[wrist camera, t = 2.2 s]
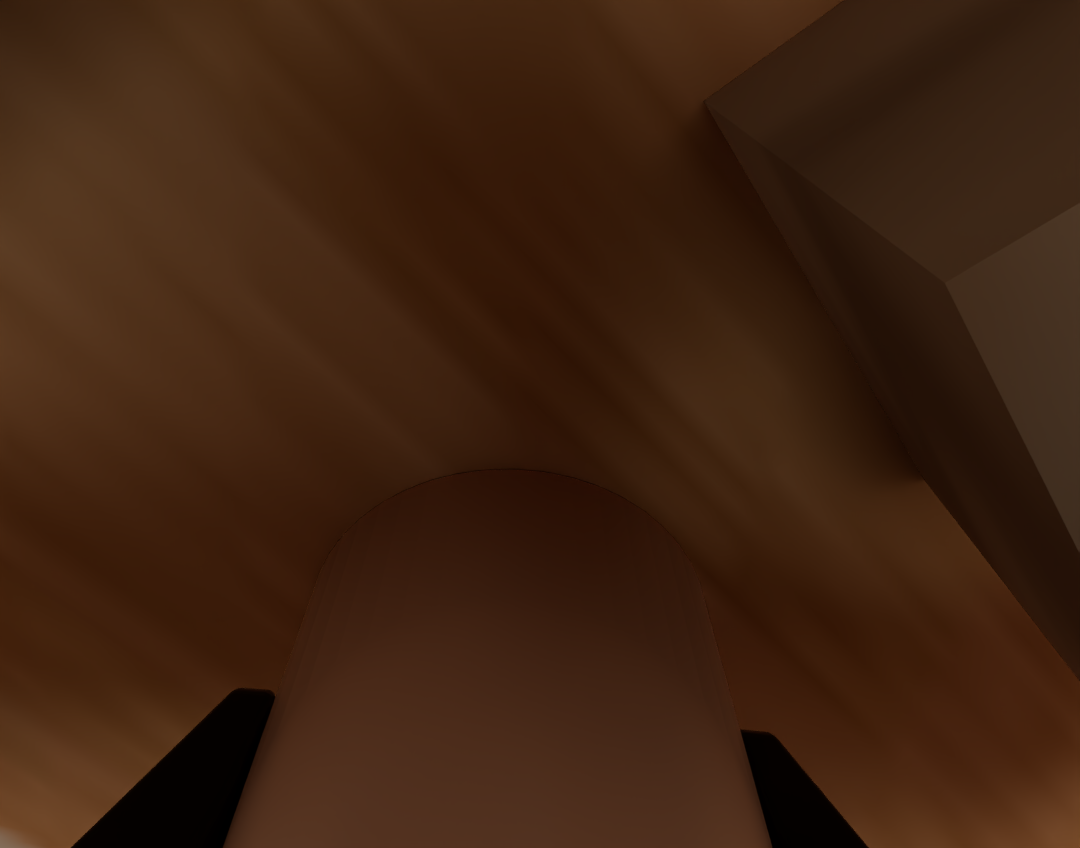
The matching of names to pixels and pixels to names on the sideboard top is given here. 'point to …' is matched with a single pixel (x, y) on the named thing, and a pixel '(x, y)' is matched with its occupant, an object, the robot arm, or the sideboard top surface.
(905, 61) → the walnut cube
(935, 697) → the sideboard top surface
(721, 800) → the terracotta cylinder
